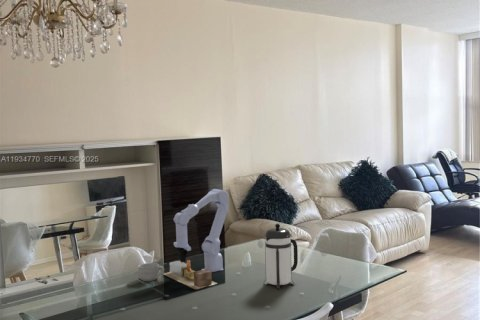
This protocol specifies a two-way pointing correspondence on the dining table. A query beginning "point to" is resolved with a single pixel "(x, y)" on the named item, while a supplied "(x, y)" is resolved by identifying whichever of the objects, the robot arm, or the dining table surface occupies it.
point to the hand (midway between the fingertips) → (182, 261)
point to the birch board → (186, 280)
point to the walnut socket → (202, 278)
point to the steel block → (177, 268)
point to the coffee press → (279, 256)
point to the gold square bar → (188, 270)
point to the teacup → (149, 271)
